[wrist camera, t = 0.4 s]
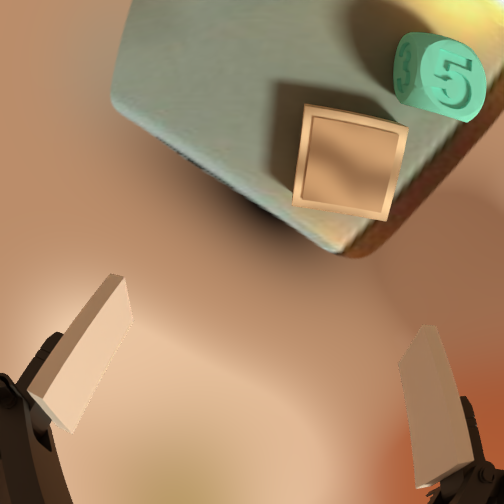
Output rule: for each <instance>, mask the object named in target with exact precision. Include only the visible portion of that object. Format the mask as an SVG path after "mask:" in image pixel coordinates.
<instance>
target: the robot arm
mask: <svg viewBox="0 0 504 504" xmlns="http://www.w3.org/2000/svg"><path fill="white" fill-rule="evenodd" d="M133 322H134V320H133V316H132V311H131V306H130V302H129V297H128V293H127V287H126V281H125V277H123V276H119V275H114V274H110V275H109V276H108V277H107V278H106V280H105V281H104V282H103V283H102V285H101V286H100V287H99V288H98V290H97V291H96V292H95V294H94V295H93V296H92V297H91V299H90V300H89V301H88V302H87V304H86V305H85V306H84V308H83V309H82V310H81V312H80V313H79V314H78V316H77V317H76V318H75V320H74V321H73V322H72V324H71V325H70V327H69V328H68V329H67V331H66V332H65V333H64V334H62V333H60V332H55V333H54V334H53V335H51V336H50V337H49V338H47V339H46V341H45V342H44V344H43V345H42V346H41V349H40V350H39V351H38V352H37V353H36V355H35V357H34V358H33V359H32V361H31V362H30V363H29V365H28V366H27V368H26V369H25V371H24V372H23V374H22V375H21V377H20V378H19V380H18V382H17V383H16V384H14V383H13V381H12V380H11V379H10V377H9V376H8V375H6V374H4V373H0V504H73V502H72V499H71V496H70V494H69V491H68V488H67V485H66V482H65V479H64V476H63V472H62V469H61V466H60V462H59V458H58V455H57V451H56V447H55V443H54V439H53V435H52V430H51V427H50V423H51V421H53V422H54V423H55V424H56V425H57V426H58V427H59V428H61V429H63V430H65V431H67V432H69V433H71V434H73V433H74V431H75V429H76V427H77V425H78V422H79V421H80V419H81V417H82V414H83V413H84V411H85V409H86V407H87V405H88V403H89V401H90V399H91V397H92V395H93V393H94V391H95V390H96V388H97V386H98V384H99V382H100V380H101V378H102V376H103V375H104V373H105V371H106V369H107V367H108V365H109V364H110V362H111V360H112V358H113V357H114V355H115V353H116V351H117V349H118V347H119V346H120V344H121V342H122V341H123V339H124V337H125V335H126V334H127V332H128V330H129V328H130V327H131V325H132V323H133ZM398 366H399V371H400V376H401V381H402V386H403V392H404V398H405V403H406V409H407V416H408V422H409V429H410V436H411V444H412V453H413V462H414V473H415V485H416V489H417V488H422V487H429V486H432V485H434V484H436V483H438V482H440V487H438V488H436V489H434V490H432V491H430V492H429V493H428V494H427V495H426V496H427V497H428V496H430V495H432V494H434V495H433V496H432V497H431V498H430V501H429V502H428V504H504V470H499V469H495V467H494V465H493V464H492V463H491V462H488V461H486V460H485V457H484V454H483V449H482V444H481V440H480V435H479V431H478V428H477V423H476V419H475V418H474V417H475V415H474V411H473V408H472V405H471V404H470V402H469V401H468V399H467V397H466V396H461V397H459V393H458V390H457V386H456V383H455V380H454V376H453V373H452V370H451V367H450V364H449V361H448V358H447V355H446V352H445V349H444V346H443V344H442V341H441V338H440V336H439V333H438V330H437V327H436V326H431V325H422V326H421V328H420V330H419V331H418V333H417V335H416V337H415V338H414V340H413V341H412V343H411V344H410V346H409V348H408V349H407V351H406V352H405V354H404V355H403V357H402V359H401V360H400V361H399V363H398Z"/></svg>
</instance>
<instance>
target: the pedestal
mask: <svg viewBox="0 0 504 504" xmlns="http://www.w3.org/2000/svg"><path fill="white" fill-rule="evenodd" d="M408 129H409V128H408V127H406V126H404V125H402V124H400V123H398V122H394V121H390V120H386V119H382V118H378V117H374V116H369V115H365V114H360V113H355V112H351V111H345V110H340V109H335V108H329V107H323V106H317V105H311V104H304V111H303V119H302V127H301V135H300V143H299V151H298V158H297V166H296V173H295V180H294V188H293V196H292V206H297V207H304V208H310V209H317V210H323V211H329V212H336V213H342V214H348V215H353V216H359V217H365V218H371V219H376V220H382V221H386V220H387V217H388V214H389V210H390V206H391V203H392V199H393V195H394V191H395V187H396V184H397V180H398V175H399V171H400V167H401V163H402V158H403V154H404V149H405V144H406V139H407V134H408Z"/></svg>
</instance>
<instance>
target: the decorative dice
mask: <svg viewBox="0 0 504 504" xmlns="http://www.w3.org/2000/svg"><path fill="white" fill-rule="evenodd" d="M393 82H394V90H395V94H396V97H397V99H398V100H399V101H400V103H401V104H405V105H409V106H413V107H416V108H420V109H424V110H427V111H431V112H434V113H438V114H441V115H445V116H448V117H451V118H454V119H457V120H461V121H464V122H469V121H470V120H472V119H473V118H474V117H475V116H476V115H477V114H478V113H479V111H480V109H481V107H482V105H483V102H484V99H485V94H486V76H485V72H484V69H483V66H482V64H481V62H480V60H479V58H478V57H477V55H476V54H475V52H474V51H473V50H472V49H471V48H470V47H468V46H467V45H465V44H463V43H461V42H459V41H456V40H454V39H451V38H448V37H444V36H441V35H436V34H431V33H424V32H410V33H407V34H406V35H404V36H403V37H402V39H401V40H400V42H399V44H398V47H397V50H396V55H395V60H394V70H393Z"/></svg>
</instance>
